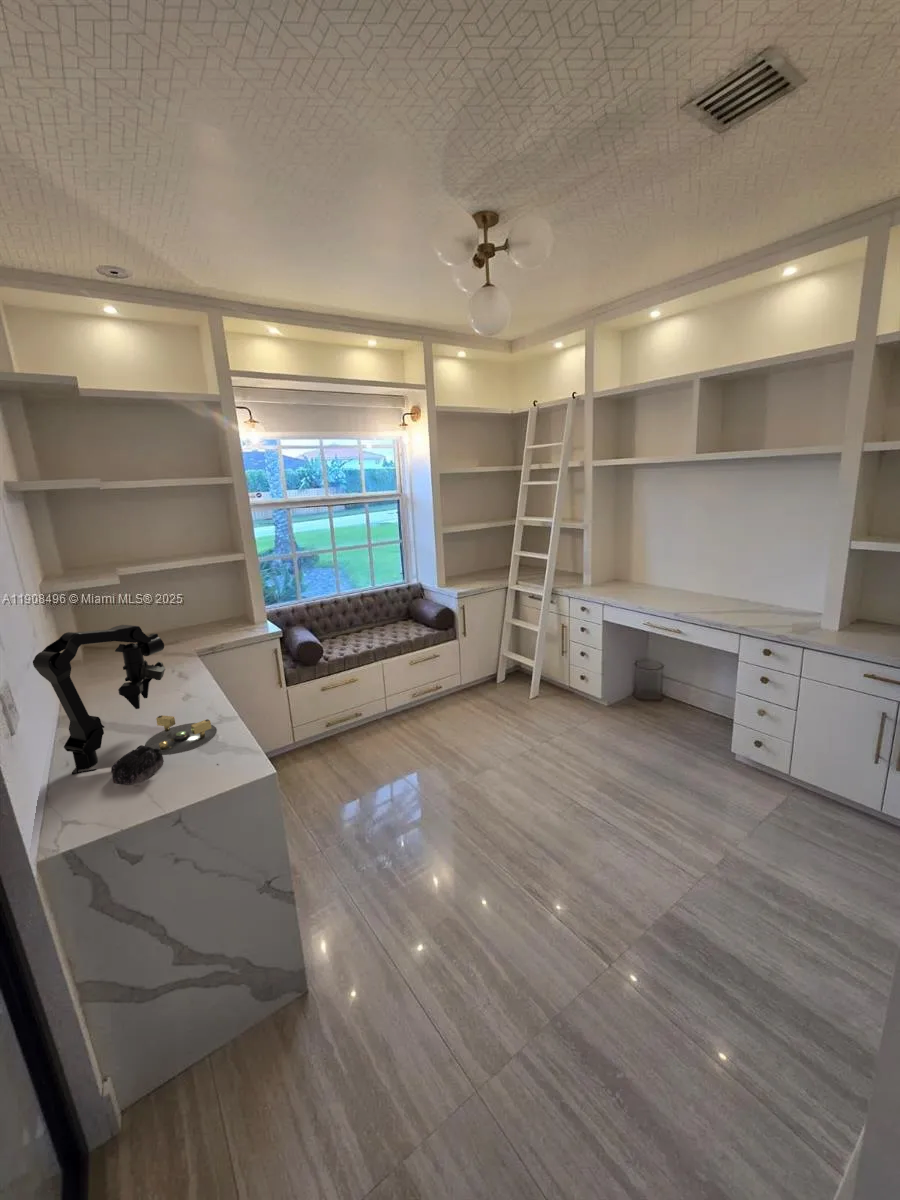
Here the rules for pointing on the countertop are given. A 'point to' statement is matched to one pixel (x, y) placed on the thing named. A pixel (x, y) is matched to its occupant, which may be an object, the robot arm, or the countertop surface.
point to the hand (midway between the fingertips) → (141, 703)
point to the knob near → (201, 727)
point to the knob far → (165, 722)
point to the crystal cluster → (137, 765)
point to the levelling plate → (179, 739)
